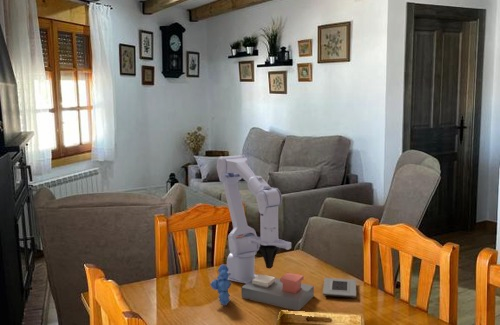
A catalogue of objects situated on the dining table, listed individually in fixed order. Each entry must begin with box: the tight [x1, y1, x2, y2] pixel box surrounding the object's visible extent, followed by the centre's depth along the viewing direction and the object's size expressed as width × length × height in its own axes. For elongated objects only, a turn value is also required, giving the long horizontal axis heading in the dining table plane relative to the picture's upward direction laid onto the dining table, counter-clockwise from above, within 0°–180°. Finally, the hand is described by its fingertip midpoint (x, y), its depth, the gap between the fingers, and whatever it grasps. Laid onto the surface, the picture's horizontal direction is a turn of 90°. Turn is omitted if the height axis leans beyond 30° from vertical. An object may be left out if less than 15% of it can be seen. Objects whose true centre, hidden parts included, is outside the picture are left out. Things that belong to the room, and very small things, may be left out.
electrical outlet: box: [322, 277, 357, 299], centre depth 165 cm, size 13×10×2 cm
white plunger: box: [252, 273, 276, 288], centre depth 163 cm, size 6×6×5 cm
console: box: [241, 274, 315, 311], centre depth 160 cm, size 20×12×4 cm, turn 61°
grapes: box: [210, 263, 232, 306], centre depth 156 cm, size 12×7×12 cm, turn 5°
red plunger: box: [279, 272, 305, 294], centre depth 158 cm, size 6×6×5 cm
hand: (269, 267), depth 161 cm, fingers closed
